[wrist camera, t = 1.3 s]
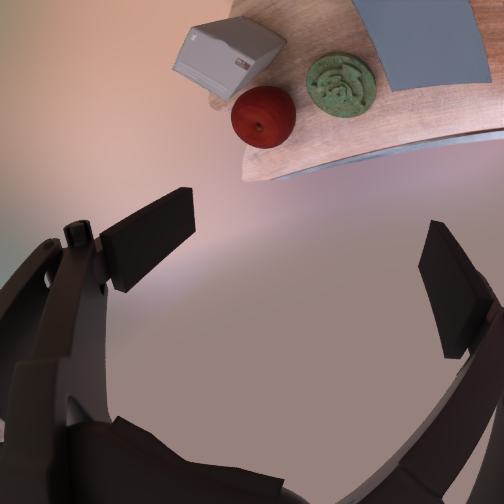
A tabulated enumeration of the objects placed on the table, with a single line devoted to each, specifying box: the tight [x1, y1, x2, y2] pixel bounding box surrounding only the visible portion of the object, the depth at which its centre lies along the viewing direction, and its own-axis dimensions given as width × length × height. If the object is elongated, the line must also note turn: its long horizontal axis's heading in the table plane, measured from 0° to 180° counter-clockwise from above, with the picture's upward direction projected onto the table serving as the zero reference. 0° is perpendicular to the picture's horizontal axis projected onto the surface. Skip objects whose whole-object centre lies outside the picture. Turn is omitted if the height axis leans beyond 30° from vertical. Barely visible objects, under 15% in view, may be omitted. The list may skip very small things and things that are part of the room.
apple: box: [231, 86, 296, 149], centre depth 38 cm, size 10×10×10 cm
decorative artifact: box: [307, 53, 376, 118], centre depth 31 cm, size 10×7×10 cm
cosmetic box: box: [172, 16, 287, 102], centre depth 28 cm, size 8×7×16 cm
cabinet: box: [352, 0, 492, 92], centre depth 18 cm, size 17×14×9 cm
